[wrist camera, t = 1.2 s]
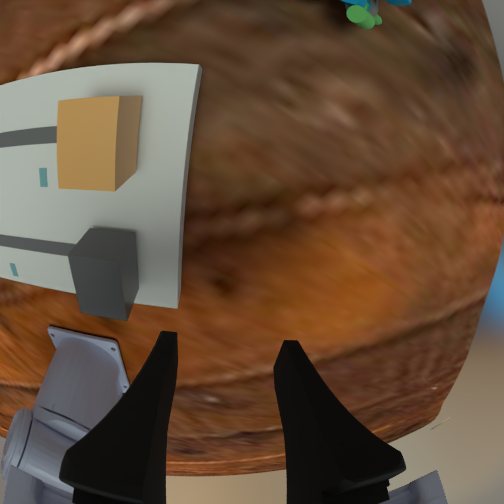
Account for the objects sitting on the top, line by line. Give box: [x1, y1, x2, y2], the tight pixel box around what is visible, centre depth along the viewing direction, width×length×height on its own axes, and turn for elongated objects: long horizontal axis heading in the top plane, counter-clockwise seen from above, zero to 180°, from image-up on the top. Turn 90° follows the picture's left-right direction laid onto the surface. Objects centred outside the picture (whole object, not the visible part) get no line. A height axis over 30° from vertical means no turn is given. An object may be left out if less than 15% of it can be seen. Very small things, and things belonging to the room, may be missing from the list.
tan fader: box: [57, 96, 142, 192], centre depth 11 cm, size 4×3×3 cm
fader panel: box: [0, 63, 203, 309], centre depth 14 cm, size 15×22×2 cm
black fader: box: [68, 228, 139, 321], centre depth 14 cm, size 4×3×3 cm
